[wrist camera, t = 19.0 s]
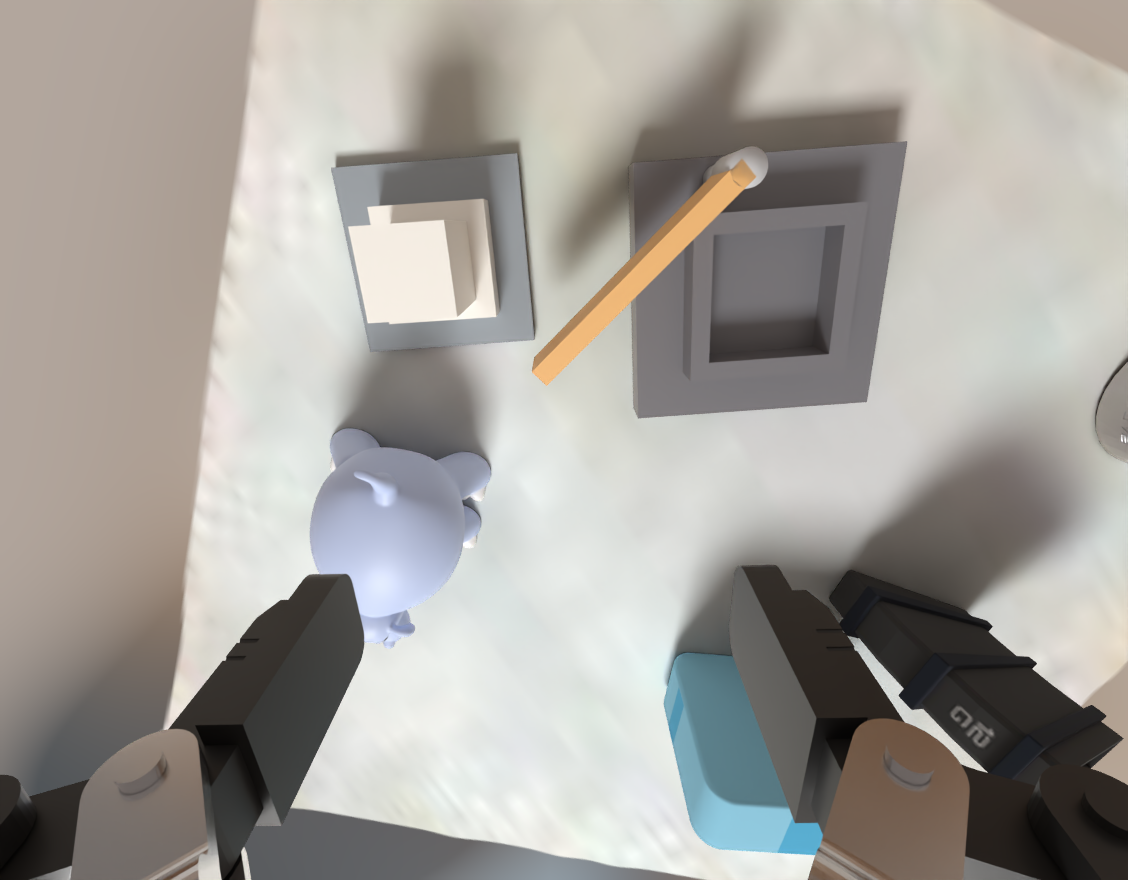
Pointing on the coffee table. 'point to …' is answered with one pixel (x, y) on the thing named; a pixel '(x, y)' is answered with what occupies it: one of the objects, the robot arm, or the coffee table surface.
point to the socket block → (765, 283)
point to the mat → (439, 184)
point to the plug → (426, 262)
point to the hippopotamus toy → (394, 526)
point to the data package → (728, 762)
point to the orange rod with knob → (653, 257)
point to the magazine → (971, 682)
